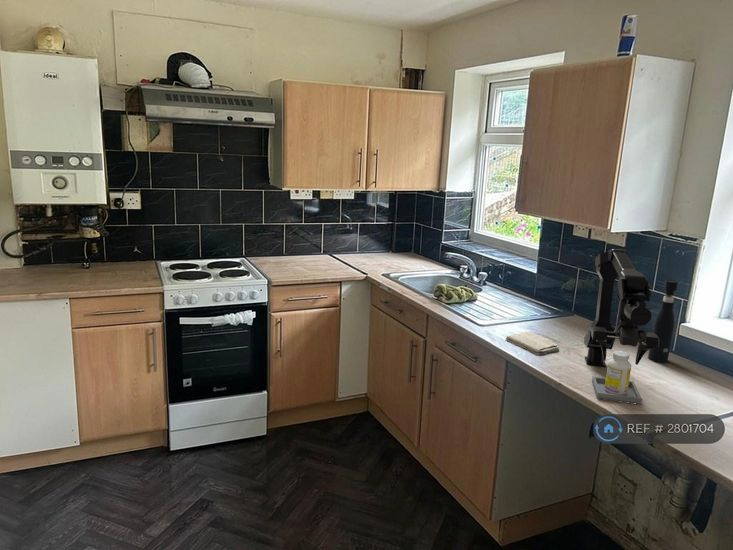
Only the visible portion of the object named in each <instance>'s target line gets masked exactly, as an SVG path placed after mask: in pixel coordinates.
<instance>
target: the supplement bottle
mask: <svg viewBox="0 0 733 550" xmlns="http://www.w3.org/2000/svg"><path fill="white" fill-rule="evenodd" d="M629 359H630V353H628V352H625V351H621V350H615V351H613V353H612V358H610V359H609V360H608V363H607V367H606V375H605V378H606V381H605V390H606V391H607V392H609V393H611V394H618V395H625V394H626V393H627V391H628V385H629V381H630V377H631V372H632V364H631V362H630V361H629Z"/></svg>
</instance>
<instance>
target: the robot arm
mask: <svg viewBox="0 0 733 550" xmlns="http://www.w3.org/2000/svg"><path fill="white" fill-rule="evenodd" d="M594 263H595V264H594V267H595V272H596V273H597V275H598V277H599V284H598V285H599V287H598V292H597V293H598V295H597V302H596V303H597V304H596V313H595V318H594V319H593V322H591V323H590V325H589V330H588V331H587V333H586V334H585V335H584V337H583V338H584V339H583V344H584V346H585V347H586V348H588V349H587V355H586V356H584V359H585V363H586V365H589V366H590V365H591V366H597V367H599V366H600V367H605V368H607V364H606V361H607V360H606V359H607V350H613V347H614V344H615V340H617V339H619V343H620V345H622V346H630V347H631V346H632V347H637V346H638V347H637V350H636V351H637V352H636V355H635V360H634V361H635V365H636V366H637V365H638V364H639V363H640V361H641V360H642V358H643V357H644V355H645V354H646V353H647V351H648V352H649V349H653V348H654V347H659V344H660V339H659V338H658V337H657V335H656V334H655V333H652V332H647V330H645V329H644V330H643V329H639V327H641V326H645V325H648V323H650V322H651V319H652V312H651V311H650V309H649V308H648V307H647V303H646V302H650V301H651V296H652V293H651V288H650V283H649V280H648V279H647V277H646V275H645V274H643V273H642V272H640V271H638V270H636V268H635V267H634V265H633V264H632V262H631V260H630V258H629V256H628V252H627V250H626V249H620V248H619V249H618V248H617V249H616V248H612V249H609V250H608V251H605V252H602V253H599V254H598V255H597V256H596V257H595V260H594ZM618 277H619V278H618ZM617 278H618V280H617ZM616 280H617V289H618V293H619V297H620V298H619V302H618V303H619V304H618V310H617V315H616V322H615V327H613V326H612V324H611V314H612V304H613V297H614V296H613V295H614V288H615V281H616ZM638 326H639V327H638Z"/></svg>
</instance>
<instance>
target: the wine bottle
mask: <svg viewBox="0 0 733 550" xmlns="http://www.w3.org/2000/svg"><path fill="white" fill-rule="evenodd" d="M678 284H679V282H678V281H677V280H675V279H666V280H665V282H664V288H663V289H664V290H665V294H664V296H663V299H662V301H661V307H660V309H659V311H658V313H657V314H656V316H655V318H654V321H653V326H652V327H653V328H652V332H651V333H655V334H656V335H657V337H658V338H659V339H660V344H659V347H654V348H653V349H649V350H648V355H647V358H648V360H649V361H652V362H654V363H658V362H659V363H660V364H665V363H666V364H667V362H668V359H669V354H670V351H671V344H672V339H673V334H674V327H675V314H674V311H673V310H674V304H675V302H674V299H675V297H674V293H675V292H676V291H677V289H678Z"/></svg>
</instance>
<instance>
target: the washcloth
mask: <svg viewBox="0 0 733 550" xmlns="http://www.w3.org/2000/svg"><path fill="white" fill-rule="evenodd" d="M505 340H506V341H508V342H510V343H512V344H514V345H516V346H518V347H520V348H522V349H524V348H525V350H526V349H527V351H529V352H531V353H532V354H534V353H535V354H534V355H536V354H537V356H540V355H545V354H546V355H547V354H549V353H556V352H558V351H560V347H559V346H558V343H555V342H553V341H552V340H551V339H550V338H546V337H543V336H541V335H539V334H536V333H534V332H532V331H523V332H520V333H516V334H511V335H507V336H506V337H505Z"/></svg>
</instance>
